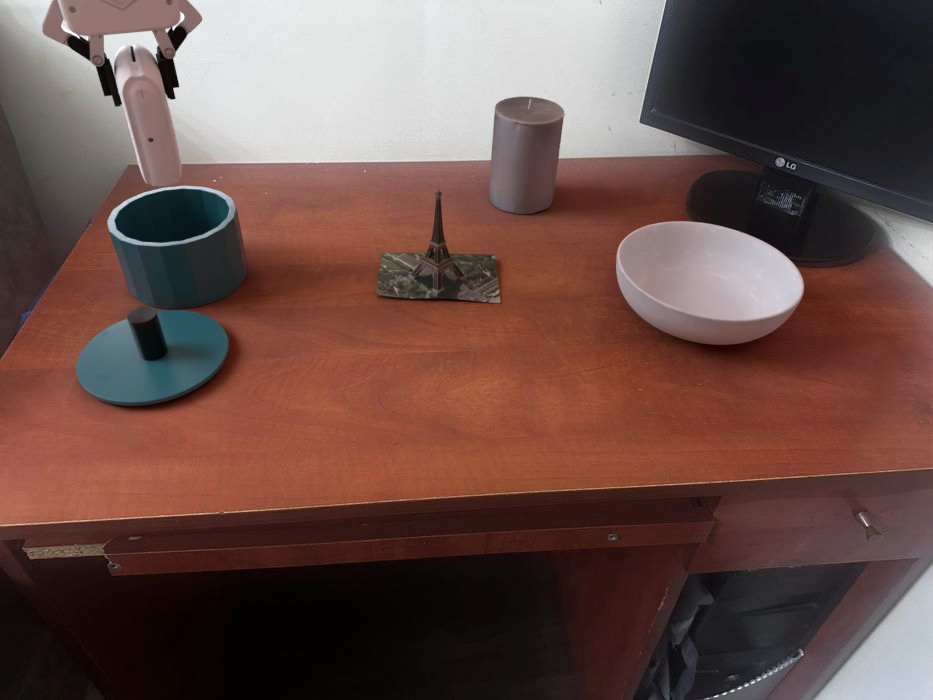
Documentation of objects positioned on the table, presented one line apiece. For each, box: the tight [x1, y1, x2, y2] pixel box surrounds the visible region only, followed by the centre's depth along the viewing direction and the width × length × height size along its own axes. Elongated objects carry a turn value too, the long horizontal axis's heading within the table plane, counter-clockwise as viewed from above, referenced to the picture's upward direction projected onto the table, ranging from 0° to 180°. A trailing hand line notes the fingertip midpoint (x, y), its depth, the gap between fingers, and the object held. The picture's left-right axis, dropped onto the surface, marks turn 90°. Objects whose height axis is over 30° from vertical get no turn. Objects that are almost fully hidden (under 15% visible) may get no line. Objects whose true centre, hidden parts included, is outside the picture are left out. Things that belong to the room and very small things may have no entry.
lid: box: [75, 305, 230, 407], centre depth 73 cm, size 15×15×6 cm
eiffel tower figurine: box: [375, 182, 502, 304], centre depth 84 cm, size 15×10×13 cm
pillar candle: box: [488, 95, 566, 215], centre depth 101 cm, size 10×10×15 cm
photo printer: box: [113, 44, 183, 188], centre depth 74 cm, size 10×4×12 cm, turn 23°
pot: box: [106, 185, 248, 310], centre depth 85 cm, size 14×14×8 cm
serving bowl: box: [615, 220, 805, 346], centre depth 83 cm, size 21×21×7 cm
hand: (143, 96), depth 73 cm, fingers closed on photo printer, 4 cm apart
